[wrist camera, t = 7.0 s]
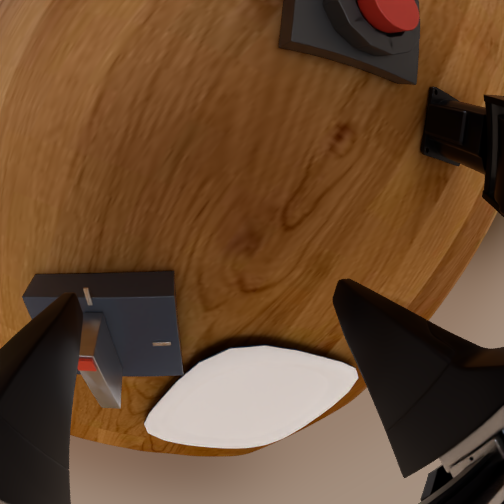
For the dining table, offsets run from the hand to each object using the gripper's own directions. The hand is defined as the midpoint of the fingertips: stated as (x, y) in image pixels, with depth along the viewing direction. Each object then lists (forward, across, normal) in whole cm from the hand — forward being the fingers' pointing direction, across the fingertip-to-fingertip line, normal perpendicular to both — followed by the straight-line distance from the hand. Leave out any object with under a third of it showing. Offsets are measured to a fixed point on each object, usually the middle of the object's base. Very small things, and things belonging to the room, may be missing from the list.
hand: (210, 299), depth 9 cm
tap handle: (+7, +8, +10) cm, 15 cm away
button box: (+11, -10, -14) cm, 20 cm away
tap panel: (+10, +8, +10) cm, 16 cm away
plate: (+11, -6, +28) cm, 30 cm away
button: (+7, -10, -14) cm, 18 cm away
